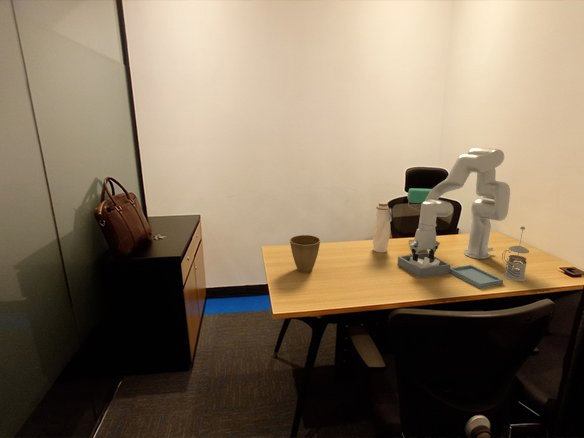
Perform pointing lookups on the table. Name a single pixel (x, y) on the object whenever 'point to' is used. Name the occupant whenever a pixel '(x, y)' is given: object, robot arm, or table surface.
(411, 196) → the banker's lamp
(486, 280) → the tray
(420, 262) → the bracket
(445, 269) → the bin
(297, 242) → the plant pot
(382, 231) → the water bottle
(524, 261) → the french press
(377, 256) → the table surface
